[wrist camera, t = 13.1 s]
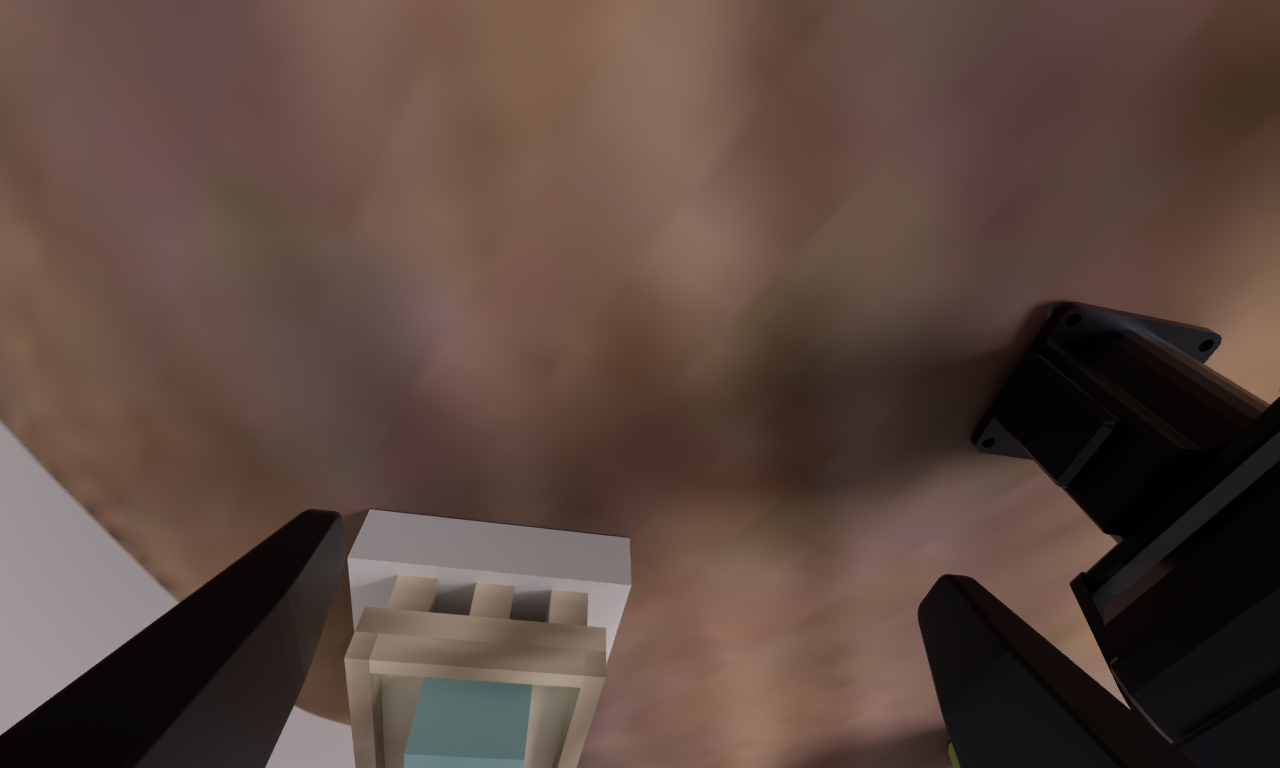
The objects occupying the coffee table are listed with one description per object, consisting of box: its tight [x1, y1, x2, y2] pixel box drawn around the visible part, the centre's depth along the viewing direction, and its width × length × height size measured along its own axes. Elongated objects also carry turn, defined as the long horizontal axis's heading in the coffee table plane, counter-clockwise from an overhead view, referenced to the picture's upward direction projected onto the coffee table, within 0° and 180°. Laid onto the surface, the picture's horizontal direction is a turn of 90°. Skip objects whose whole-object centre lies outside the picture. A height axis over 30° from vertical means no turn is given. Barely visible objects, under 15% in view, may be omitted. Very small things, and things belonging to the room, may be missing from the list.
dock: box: [348, 509, 631, 664], centre depth 28 cm, size 11×15×2 cm
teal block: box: [404, 677, 533, 768], centre depth 22 cm, size 4×3×3 cm
